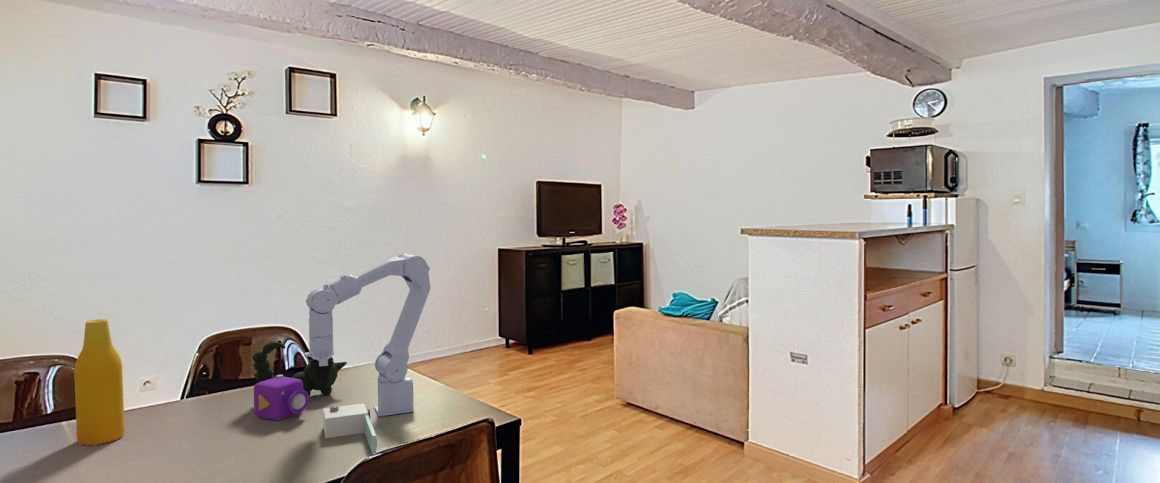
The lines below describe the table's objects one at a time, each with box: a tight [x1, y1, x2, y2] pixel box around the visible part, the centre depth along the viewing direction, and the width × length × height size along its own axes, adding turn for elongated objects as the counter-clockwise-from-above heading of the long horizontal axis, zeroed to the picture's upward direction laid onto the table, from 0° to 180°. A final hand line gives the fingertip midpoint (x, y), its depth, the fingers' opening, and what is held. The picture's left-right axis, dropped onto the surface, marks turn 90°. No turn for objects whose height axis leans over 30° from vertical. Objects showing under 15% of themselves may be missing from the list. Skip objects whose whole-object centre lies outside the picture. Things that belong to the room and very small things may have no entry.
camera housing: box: [322, 402, 371, 439], centre depth 157 cm, size 11×8×6 cm
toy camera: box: [253, 374, 310, 421], centre depth 167 cm, size 11×14×10 cm
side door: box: [364, 414, 378, 455], centre depth 148 cm, size 15×1×5 cm, turn 26°
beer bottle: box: [73, 318, 126, 446], centre depth 148 cm, size 9×9×29 cm
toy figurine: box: [252, 341, 348, 398], centre depth 181 cm, size 9×19×25 cm
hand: (322, 386), depth 160 cm, fingers closed
